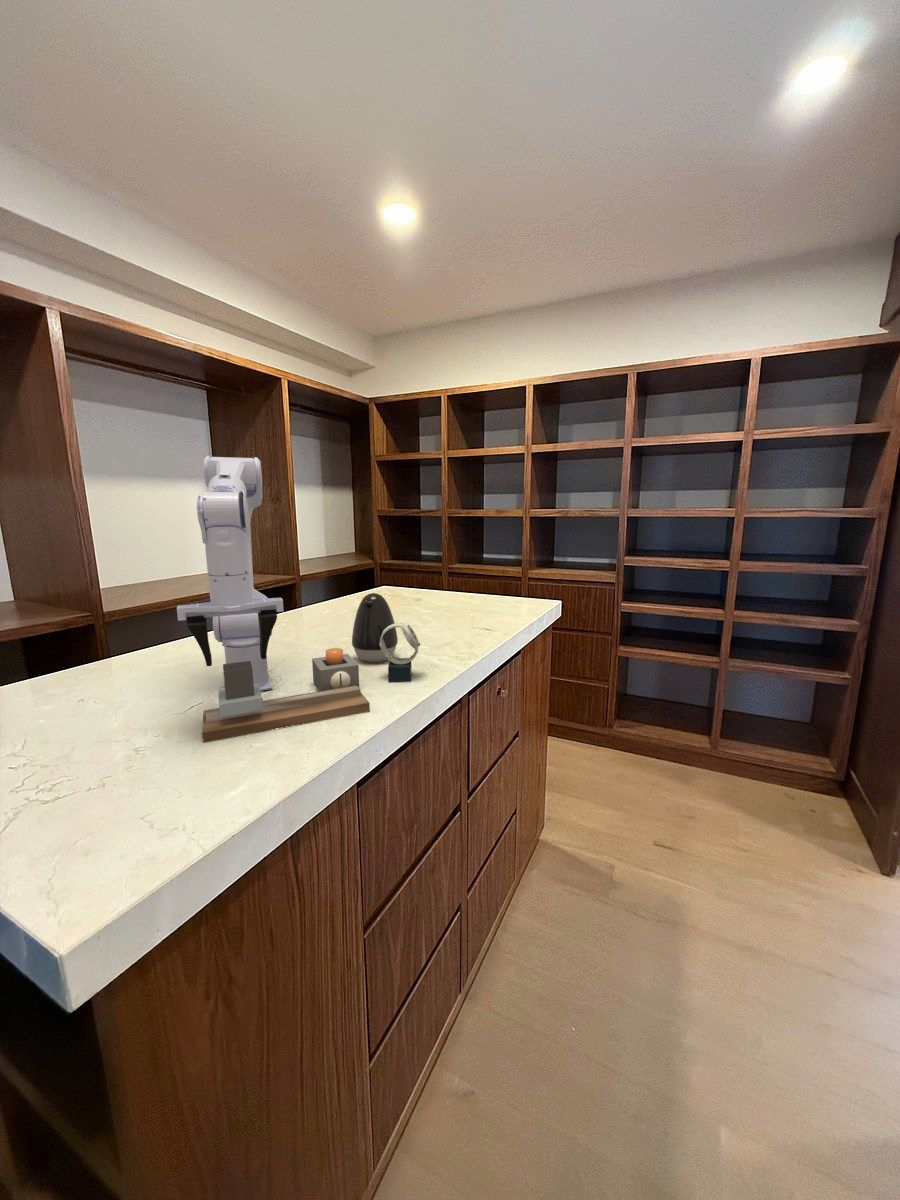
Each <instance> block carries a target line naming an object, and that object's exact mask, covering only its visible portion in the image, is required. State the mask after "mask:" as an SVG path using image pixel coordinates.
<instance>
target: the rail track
mask: <svg viewBox="0 0 900 1200" xmlns="http://www.w3.org/2000/svg"><path fill="white" fill-rule="evenodd" d="M262 701H263V710H261V711H255V712H249V713H244V714H238V715H232V716H226V717H220V710H219V707H215V708H210V709H204V710H203V711H202V712H203V714H202V727H201V728H202V731H201V734H202V742H203V743H202V744H204V743H209V742H215V741H219V740H224V739H229V738H236V737H240V736H245V735H250V734H255V733H256V734H257V733H262V732H266V731H267V730H268V731H272V729H273V730H277V729H276V728H278V729H282V728H281V727H283V728H287V727H286V726H289V727H292V726H291V725H294V726H298V725H297V724H299V725H304V724H303V723H305V724H309V723H310V724H311V723H314V722H321V721H324V720H331V719H335V718H341V717H347V716H350V715H351V716H352V715H356V714H362V713H368V712H370V711H371V709H370V702H369V701H368V699H367V698H366V697H365V695H364V694H363V693H362V692H361V688H360V686H359V687H358V686H350V687H343V688H337V689H331V690H325V691H319V692H318V691H314V692H308V693H303V694H301V693H300V694H295V695H289V696H282V697H278V698H271V699H265V700H264V699H263V700H262Z"/></svg>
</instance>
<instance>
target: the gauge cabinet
mask: <svg viewBox="0 0 900 1200" xmlns="http://www.w3.org/2000/svg"><path fill="white" fill-rule="evenodd" d="M311 663H312V666H311V667H312V679H313V680H312V681H313V684H314V686H315V688H316V690H317V692H319V691H325V690H331V689H337V688H343V687H350V686H358V687H359V688H360V671H359V670H360V666H359V664H358V663H357V662H356V661H355V659H354V658H352V656H351V655H350V654H349V653H343V663H342V664H338V665H327V664H326V656H320V657H313V658H311Z"/></svg>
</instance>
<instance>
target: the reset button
mask: <svg viewBox="0 0 900 1200" xmlns="http://www.w3.org/2000/svg"><path fill="white" fill-rule="evenodd" d="M324 653H325V657H326V664H327V665H338V664H342V663H343V654H344V650H343V648H339V647H337V648H336V647H333V648H327V649H325V652H324Z"/></svg>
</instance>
